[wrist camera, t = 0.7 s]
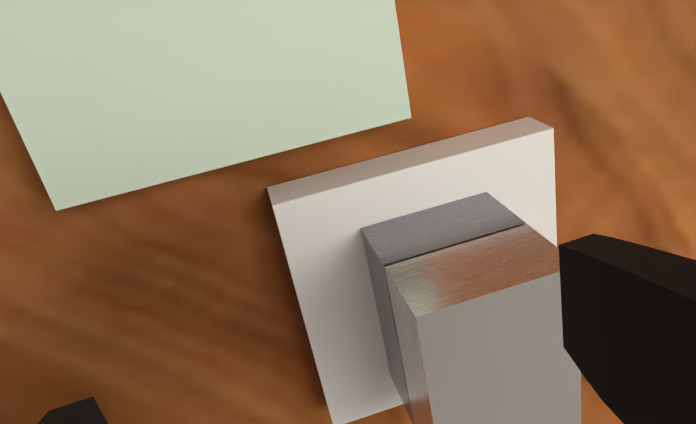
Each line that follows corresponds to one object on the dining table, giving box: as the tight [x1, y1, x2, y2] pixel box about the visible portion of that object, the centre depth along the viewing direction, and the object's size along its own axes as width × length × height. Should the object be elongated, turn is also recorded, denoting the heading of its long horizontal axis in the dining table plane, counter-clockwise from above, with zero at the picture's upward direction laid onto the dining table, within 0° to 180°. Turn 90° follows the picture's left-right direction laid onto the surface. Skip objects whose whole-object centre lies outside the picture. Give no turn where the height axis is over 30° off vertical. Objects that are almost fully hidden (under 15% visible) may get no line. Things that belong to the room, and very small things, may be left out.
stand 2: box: [267, 117, 557, 424], centre depth 19 cm, size 9×9×2 cm
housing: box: [361, 192, 581, 424], centre depth 17 cm, size 6×4×5 cm
